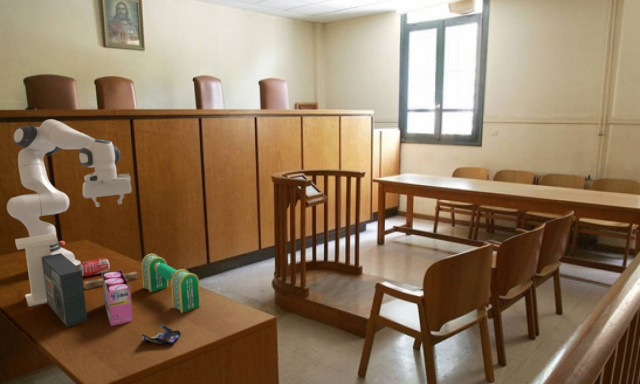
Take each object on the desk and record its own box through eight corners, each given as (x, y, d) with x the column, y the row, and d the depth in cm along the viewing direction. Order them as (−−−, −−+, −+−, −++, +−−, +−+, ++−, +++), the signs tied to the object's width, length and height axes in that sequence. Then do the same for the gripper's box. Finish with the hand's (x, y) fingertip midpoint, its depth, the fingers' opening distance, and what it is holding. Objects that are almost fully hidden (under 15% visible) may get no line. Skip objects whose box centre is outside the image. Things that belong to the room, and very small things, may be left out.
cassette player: (47, 303, 186) (41, 256, 182) (66, 298, 190) (60, 253, 187) (66, 327, 165) (60, 275, 161) (87, 321, 169) (81, 270, 166)
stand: (60, 289, 199) (53, 232, 195) (64, 298, 190) (57, 238, 185) (22, 297, 191) (14, 238, 186) (25, 307, 182) (17, 245, 177)
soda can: (105, 266, 226) (79, 272, 218) (105, 254, 223) (79, 260, 215) (110, 274, 221) (83, 280, 213) (110, 262, 218) (83, 268, 210)
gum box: (103, 303, 185) (100, 271, 183) (124, 299, 189) (121, 268, 187) (110, 326, 165) (107, 291, 162) (133, 321, 169) (130, 287, 166)
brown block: (136, 277, 214) (135, 271, 214) (138, 279, 212) (137, 273, 211) (85, 288, 202) (84, 281, 201) (86, 290, 200) (85, 283, 199)
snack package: (161, 330, 162) (135, 344, 152) (163, 314, 161) (137, 327, 150) (187, 342, 157) (162, 358, 147) (189, 326, 156) (164, 340, 146)
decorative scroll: (200, 306, 181) (198, 271, 178) (181, 313, 175) (178, 276, 172) (161, 283, 206) (159, 251, 204) (143, 288, 201) (140, 256, 198)
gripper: (128, 172, 213) (130, 201, 216) (80, 176, 201) (83, 207, 203) (132, 173, 208) (134, 203, 211) (82, 178, 196) (86, 209, 198)
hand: (109, 205), depth 207 cm, fingers open, 8 cm apart
